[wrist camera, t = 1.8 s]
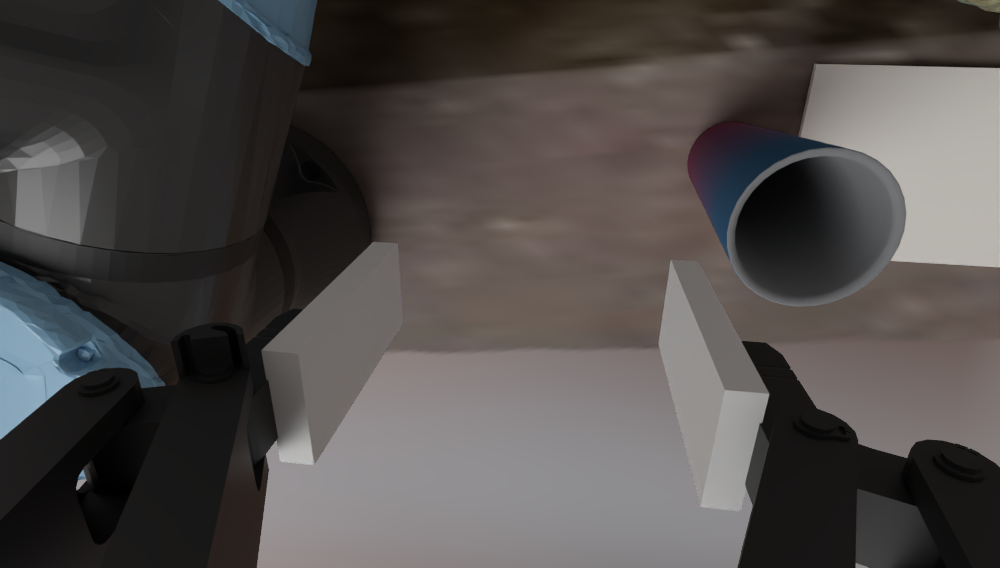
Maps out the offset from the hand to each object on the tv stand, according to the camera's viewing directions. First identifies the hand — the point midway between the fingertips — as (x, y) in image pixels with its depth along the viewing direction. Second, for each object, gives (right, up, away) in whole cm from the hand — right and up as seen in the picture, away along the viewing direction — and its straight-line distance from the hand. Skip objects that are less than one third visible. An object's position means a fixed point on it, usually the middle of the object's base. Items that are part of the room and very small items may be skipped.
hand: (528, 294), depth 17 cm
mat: (+26, +7, +19) cm, 33 cm away
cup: (+14, +8, +20) cm, 26 cm away
